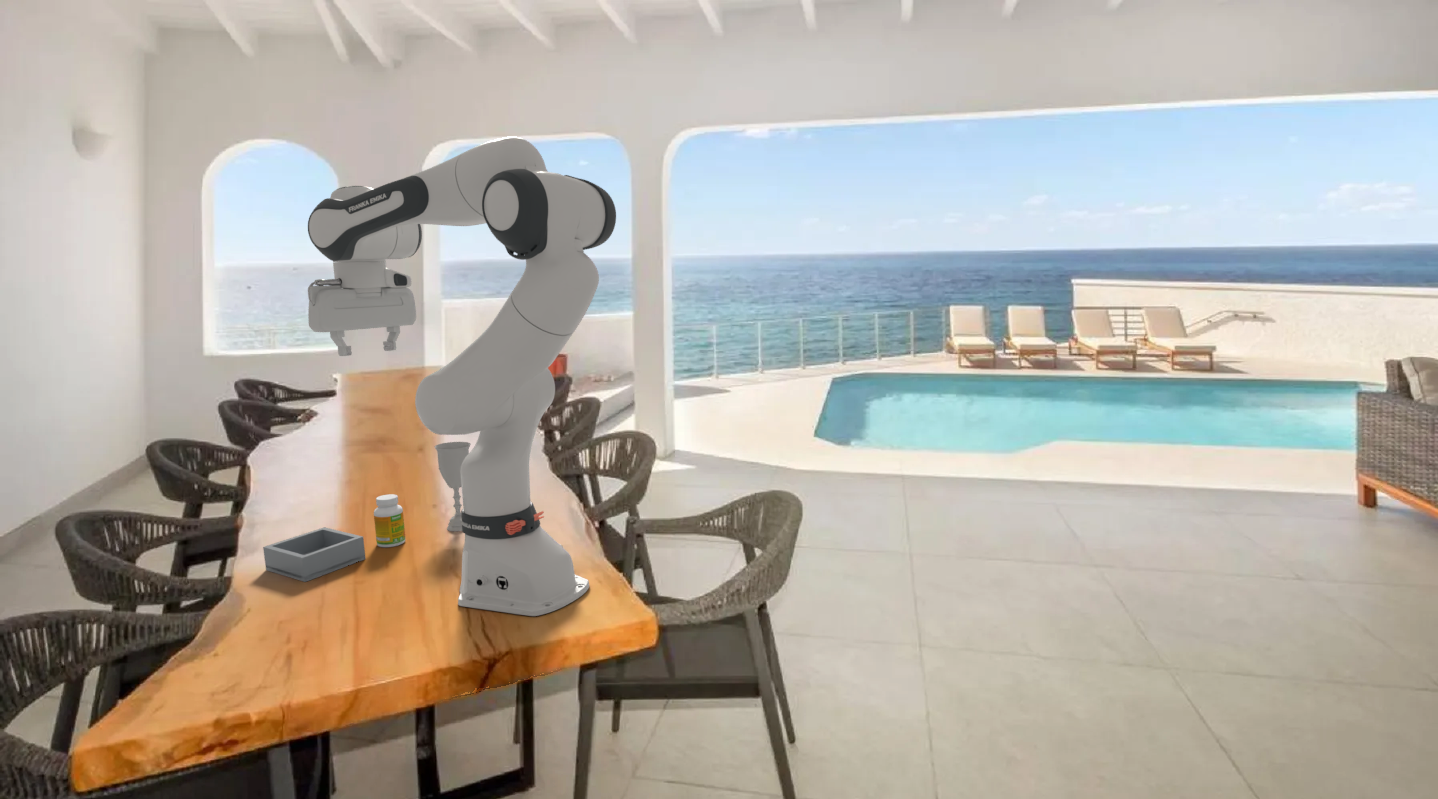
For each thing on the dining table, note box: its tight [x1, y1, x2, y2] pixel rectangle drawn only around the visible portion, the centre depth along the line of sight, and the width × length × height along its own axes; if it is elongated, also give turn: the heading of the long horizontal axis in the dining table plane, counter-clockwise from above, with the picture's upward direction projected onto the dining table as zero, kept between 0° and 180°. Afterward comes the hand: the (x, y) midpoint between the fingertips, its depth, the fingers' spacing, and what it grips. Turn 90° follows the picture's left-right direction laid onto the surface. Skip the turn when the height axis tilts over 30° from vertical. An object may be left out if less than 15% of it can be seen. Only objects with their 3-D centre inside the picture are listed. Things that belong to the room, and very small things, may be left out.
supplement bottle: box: [373, 493, 406, 548], centre depth 151 cm, size 5×5×10 cm
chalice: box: [434, 441, 471, 532], centre depth 159 cm, size 7×7×18 cm
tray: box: [262, 527, 366, 583], centre depth 141 cm, size 12×12×4 cm
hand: (368, 353), depth 140 cm, fingers open, 8 cm apart
